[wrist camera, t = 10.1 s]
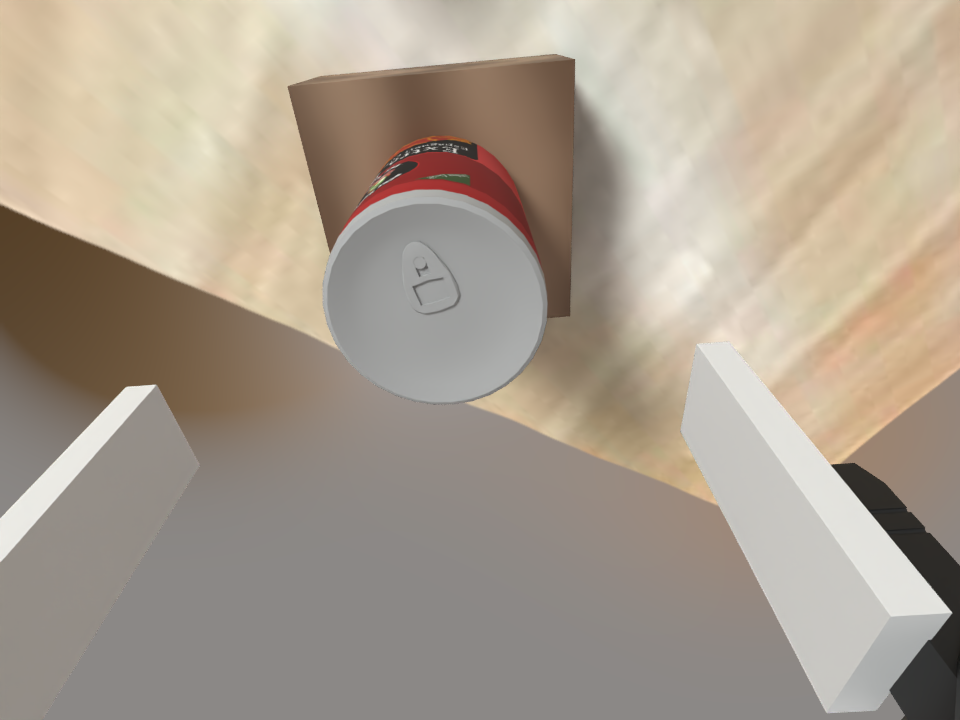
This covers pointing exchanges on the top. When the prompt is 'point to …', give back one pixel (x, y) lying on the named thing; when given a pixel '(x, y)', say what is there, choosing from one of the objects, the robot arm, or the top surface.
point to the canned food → (437, 277)
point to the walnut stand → (450, 112)
